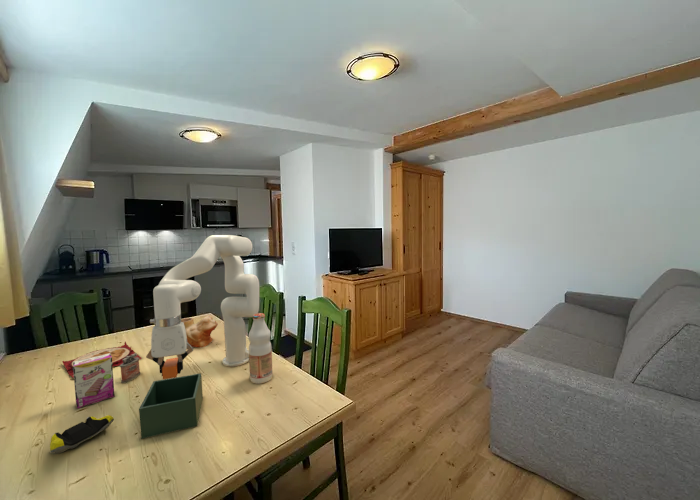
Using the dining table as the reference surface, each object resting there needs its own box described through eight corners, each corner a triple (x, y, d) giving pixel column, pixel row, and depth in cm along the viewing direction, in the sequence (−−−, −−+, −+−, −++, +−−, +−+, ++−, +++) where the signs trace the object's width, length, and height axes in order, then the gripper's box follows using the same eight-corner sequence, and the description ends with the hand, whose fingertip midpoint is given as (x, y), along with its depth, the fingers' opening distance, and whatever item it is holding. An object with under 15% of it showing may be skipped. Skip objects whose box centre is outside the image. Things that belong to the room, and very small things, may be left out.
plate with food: (62, 365, 143) (61, 358, 143) (126, 346, 163) (126, 340, 163) (72, 381, 129) (71, 374, 128) (142, 358, 149) (141, 352, 148)
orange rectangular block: (180, 368, 106) (179, 357, 106) (176, 377, 100) (175, 365, 99) (167, 370, 105) (166, 359, 104) (162, 379, 98) (162, 367, 98)
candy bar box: (76, 409, 108) (72, 366, 106) (76, 404, 111) (71, 361, 110) (115, 397, 116) (112, 356, 114) (113, 391, 119) (110, 352, 118)
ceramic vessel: (211, 348, 160) (210, 321, 159) (163, 348, 160) (161, 321, 159) (223, 338, 174) (221, 313, 173) (178, 338, 174) (176, 313, 173)
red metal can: (125, 383, 126) (123, 360, 125) (119, 382, 126) (117, 359, 125) (142, 373, 134) (140, 352, 133) (136, 373, 134) (134, 351, 133)
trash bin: (202, 397, 115) (201, 373, 114) (197, 426, 98) (195, 397, 97) (155, 406, 109) (153, 381, 108) (141, 438, 93) (138, 409, 92)
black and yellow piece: (117, 430, 97) (101, 422, 101) (116, 414, 96) (99, 406, 100) (56, 464, 83) (40, 452, 88) (54, 446, 83) (38, 435, 87)
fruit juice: (247, 384, 123) (243, 318, 121) (253, 373, 133) (250, 311, 130) (269, 383, 124) (267, 318, 121) (274, 372, 133) (272, 311, 131)
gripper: (135, 327, 94) (139, 383, 96) (194, 321, 100) (197, 373, 102) (142, 320, 101) (146, 372, 103) (197, 315, 107) (200, 364, 109)
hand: (171, 372), depth 102 cm, fingers closed on orange rectangular block, 4 cm apart
